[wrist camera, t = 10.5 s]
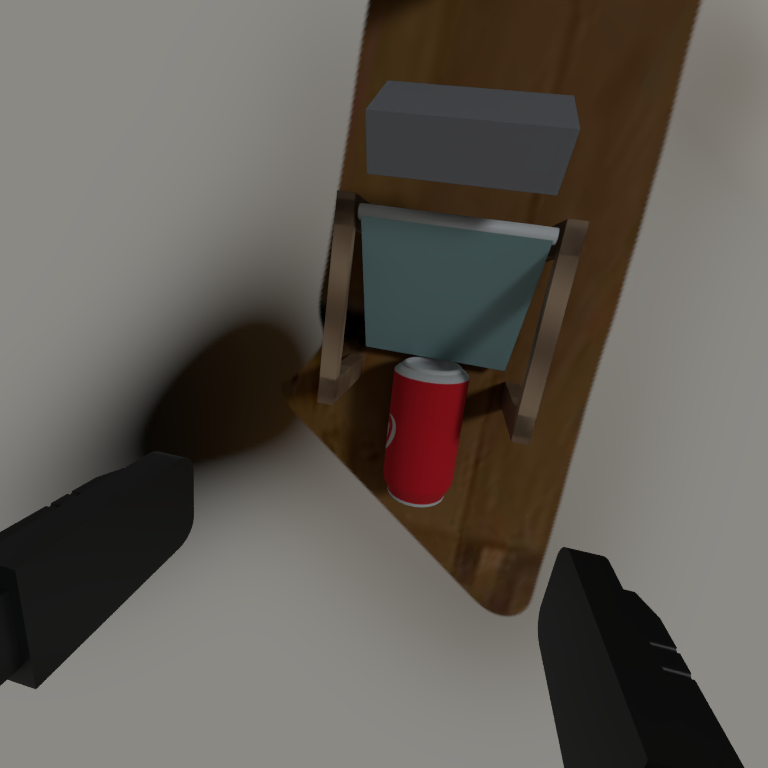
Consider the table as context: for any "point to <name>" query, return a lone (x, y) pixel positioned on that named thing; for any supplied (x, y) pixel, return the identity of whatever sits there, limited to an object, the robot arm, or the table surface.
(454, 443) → the beverage can
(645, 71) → the table surface
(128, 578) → the robot arm
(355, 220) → the trapdoor frame
